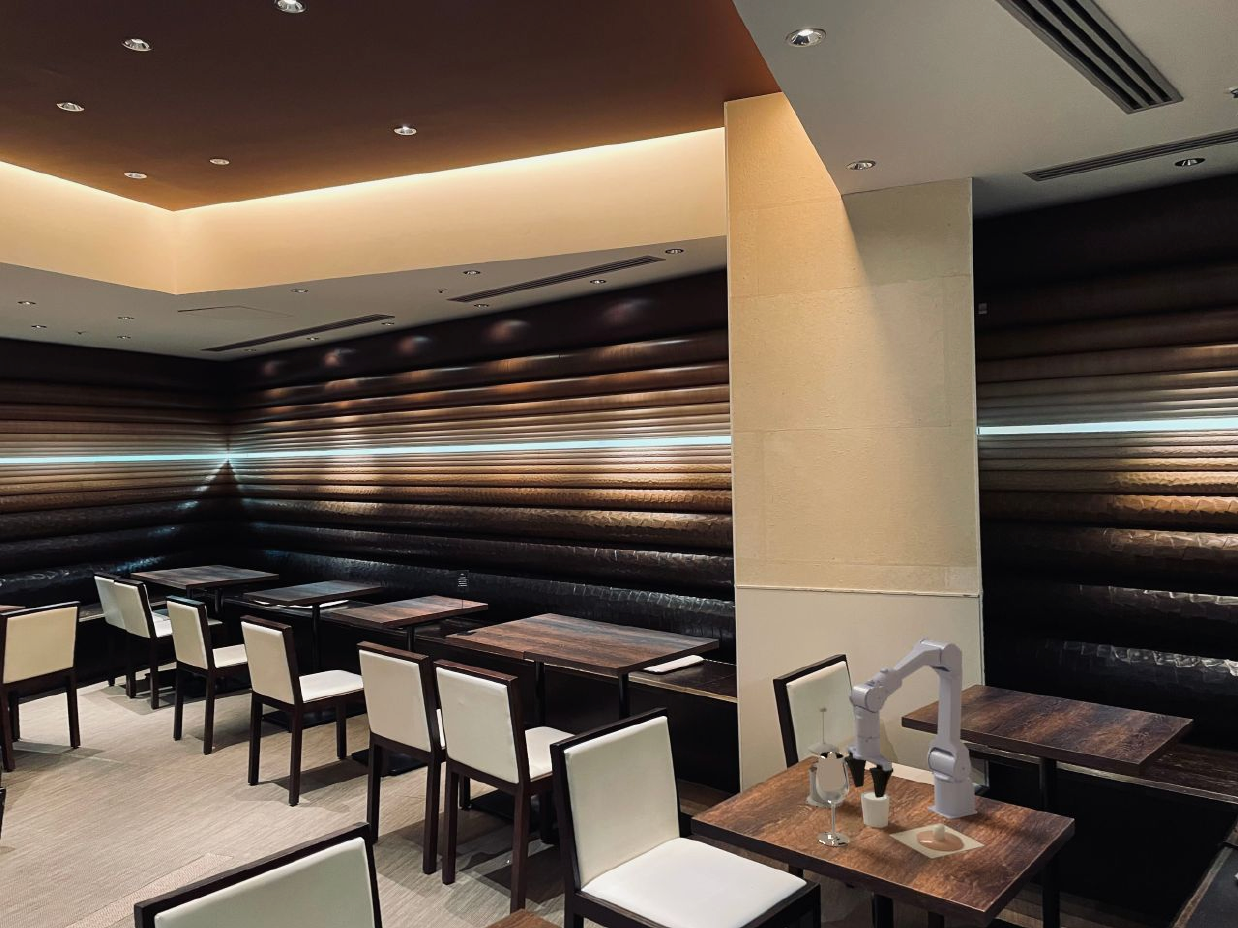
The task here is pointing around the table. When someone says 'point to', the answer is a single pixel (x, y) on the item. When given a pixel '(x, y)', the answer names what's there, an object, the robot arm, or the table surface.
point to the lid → (939, 839)
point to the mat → (911, 841)
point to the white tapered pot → (875, 809)
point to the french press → (817, 750)
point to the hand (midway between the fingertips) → (869, 791)
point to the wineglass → (832, 791)
